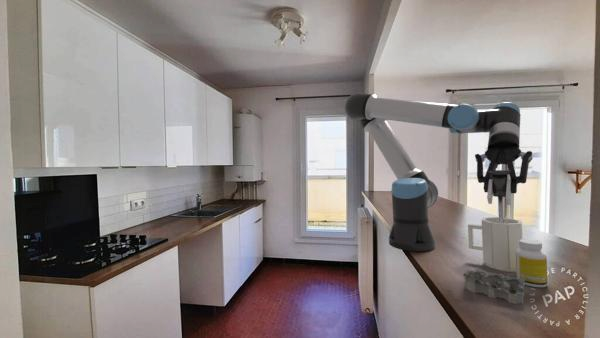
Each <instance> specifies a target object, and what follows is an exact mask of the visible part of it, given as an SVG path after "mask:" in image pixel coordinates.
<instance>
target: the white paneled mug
mask: <svg viewBox="0 0 600 338" xmlns="http://www.w3.org/2000/svg"><path fill="white" fill-rule="evenodd" d="M503 218H504V223H499V216H492V217H490V216H489V217H483V218H482V219H481V224H476V223H475V224H473V223H468V224H467V236H468V238H467V239H468V241H467V242H468V249H470V250H477V251H481V252H482V261H483V263H484V265H485V266H486V267H488V268H491V269H493V270H496V271H501V272H507V273H516V250H517V249H519V248H521V247H520V246H519V240H521V239H524V238H523V221H522V220H519V219H515V218H510V217H503ZM474 230H480V231H481V238H482V241H481V243H482V245H480V244H475V243H474Z"/></svg>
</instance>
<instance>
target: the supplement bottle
mask: <svg viewBox="0 0 600 338" xmlns="http://www.w3.org/2000/svg"><path fill="white" fill-rule="evenodd" d="M519 246H520V247H521V248H519V249H517V250H516V272H515V275H516V276H515V277H516V278H524V279H525V284H524V286H528V287H533V288H546V287H547V286H548V262H547V260H548V257H547V255H546V253H545V252H544V251H542V250H543V243H542V242H541V241H539V240H536V239H528V238H525V239H524V238H523V239H521V240H519Z"/></svg>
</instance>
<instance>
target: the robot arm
mask: <svg viewBox="0 0 600 338" xmlns="http://www.w3.org/2000/svg"><path fill="white" fill-rule="evenodd" d="M344 110H345V114H346V115H347V117H348V118H349V119H351V120H353V121H356V122H358V123H359V125H360V126H361V127H362V129H363V131H364V132H368V133H369V134H370V136H371V138H372V139H373V140H374V142H375V144H376V146H377V148H378V149H379V151H380V153H381V154H382V156H383V157H384V159H385V161H386V162H387V164H388V166H389V167H390V169H391V171H392V172H393V174H394V176H395V178H396V179H395V180H394V181H393V182H392V183H391V199H392V202H391V203H392V205H391V206H392V225H391V229H390V231H389V232H390V233H389V236H388V244H389V245H390V246H391V247H392V248H395V249H398V250H402V251H407V252H408V251H409V252H428V251H432V250H434V249H436V239H435V237H434V233H433V231H432V229H431V226H430V224H429V223H430V219H429V208H431V207H432V206H434V205H435V203H436V202H437V200H438V198H439V189H438V187H437V185H436V184H435V182H433V181H432V180H430V179H429V177H428V176H427V174H426V173H425V172H424V170H421V169H419V168H417V166H416V165H415V163H414V161H413V160H412V159H411V157H410V156H409V154H408V152H407V150H406V149H405V147H404V145H403V144H402V143H401V141H400V139H399V138H398V137H397V135H396V133H395V132H394V130H393V128H392V127H391V125H390V124H389V122H388V121H394V122H401V123H402V122H403V123H408V124H409V123H410V124H416V125H417V124H418V125H421V126H422V125H423V126H424V125H425V126H430V127H431V126H432V127H438V128H443V129H448V130H449V132H450V133H451V134H459V135H462V134H475V133H476V134H478V133H479V134H480V133H484V134H485V133H488V143H487V149H486V151H485V152H484V153H483V154H479V153H476V154H475V155H474V157H475V161H476V178H477V181H478V183H479V184H482V183H483V192H484V193H487V195H486V198H487V202H488V204H489V205H493V197H494V196H493V182H492V175H489V173H488V171H492V170H497V169H498V166H499V165H506V166H507V170H511V174H508V175H509V178H507V188H506V197H505V201H506V205H507V206H511V205H512V204H511V203H512V194H517V191H518V185H519V184H526V183H527V179H528V171H529V167H530V166H529V165H530V163H531V162H532V160H533V151H532V150H527V151H526V152H524V151H522V149H520V137H521V136H520V135H521V115H522V114H521V109H520V107H519V106H518V105H517V104H516V103H514V102H509V101H506V102H505V101H504V102H501V103H499V104H496V105H495V106H494V107H493V108H492V109H486V110H485V109H484V110H478V109H477V108H476V107H474V106H473V105H471V104H468V103H461V104H448V103H438V102H427V101H416V100H405V99H394V98H385V97H378V96H377V95H376V94H371V93H365V92H358V91H357V92H355V93H353V94H351V95H350V96H348V97H347V99H346V101H345V103H344ZM519 158H520V159H521V165H520V170H519V176H518V175H517V174H516V169H515V166H514V162H515V161H516V160H517V159H519ZM485 159H487V160H488V161H489V165H488V167H487V170H486V172H485V175H484V162H485Z"/></svg>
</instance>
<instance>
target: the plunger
mask: <svg viewBox="0 0 600 338" xmlns="http://www.w3.org/2000/svg"><path fill="white" fill-rule="evenodd" d="M488 173H489V175H492V182H493V197H496V198H497V204H498V217H499V223H504V218H505V217H504V198H506V188H507V179H508V175H509V174H511V170H508V169H498V170H497V169H496V170H492V171H488Z"/></svg>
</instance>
